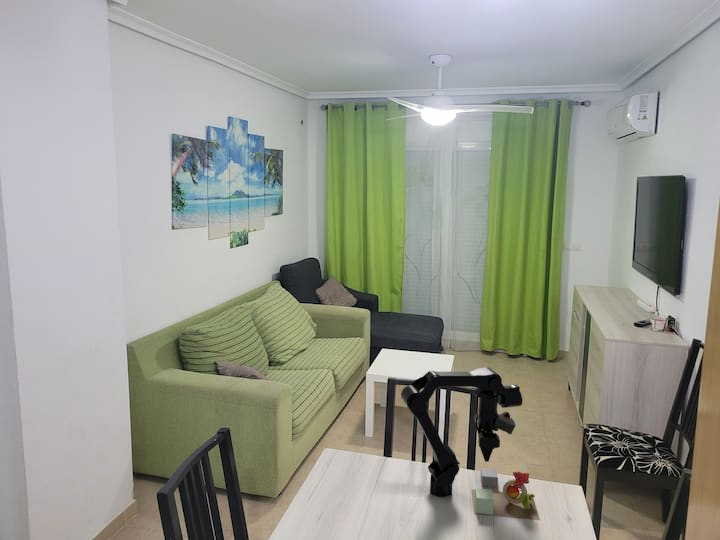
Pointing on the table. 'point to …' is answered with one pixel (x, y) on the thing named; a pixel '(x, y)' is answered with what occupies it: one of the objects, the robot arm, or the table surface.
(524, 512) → the walnut board
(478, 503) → the sage block
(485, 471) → the grey block
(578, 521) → the table surface
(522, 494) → the bird rattle
